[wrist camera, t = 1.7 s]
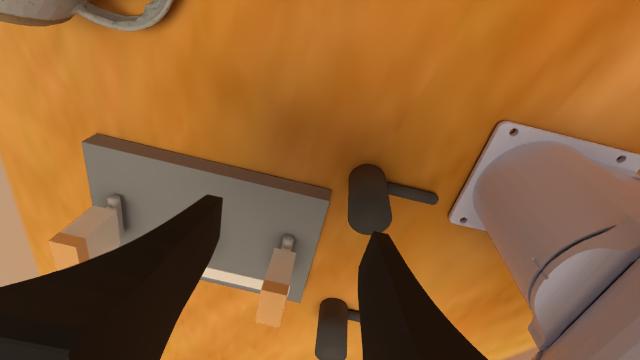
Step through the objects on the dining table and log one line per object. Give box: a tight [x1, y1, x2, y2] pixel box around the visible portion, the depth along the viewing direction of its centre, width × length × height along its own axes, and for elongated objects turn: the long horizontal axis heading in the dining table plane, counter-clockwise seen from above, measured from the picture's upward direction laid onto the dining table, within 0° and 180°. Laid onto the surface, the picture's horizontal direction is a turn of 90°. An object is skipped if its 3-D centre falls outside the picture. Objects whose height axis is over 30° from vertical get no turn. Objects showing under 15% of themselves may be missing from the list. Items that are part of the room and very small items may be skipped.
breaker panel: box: [82, 134, 331, 303], centre depth 26 cm, size 17×11×2 cm, turn 77°
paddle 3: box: [49, 195, 124, 271], centre depth 22 cm, size 2×4×5 cm, turn 167°
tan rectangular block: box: [255, 235, 296, 328], centre depth 23 cm, size 2×4×5 cm, turn 167°
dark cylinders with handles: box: [315, 164, 439, 360], centre depth 25 cm, size 7×17×4 cm, turn 167°
